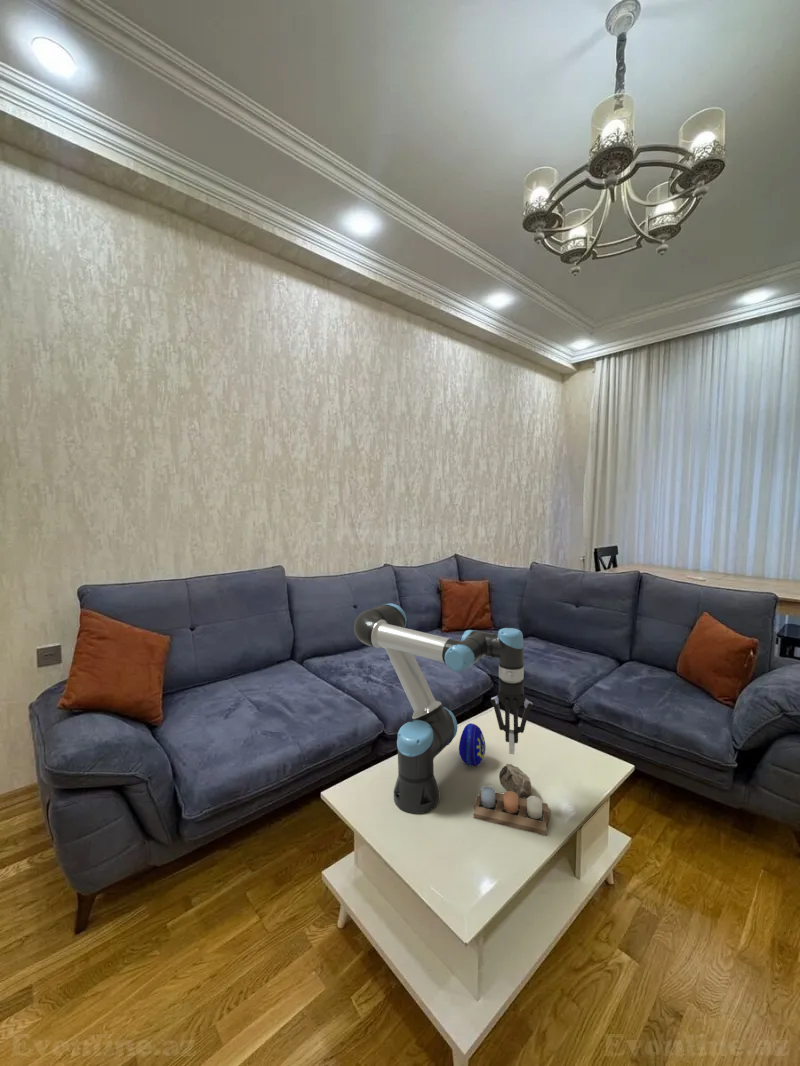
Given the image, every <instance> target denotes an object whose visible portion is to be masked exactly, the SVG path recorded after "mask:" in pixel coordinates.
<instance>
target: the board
mask: <svg viewBox="0 0 800 1066" xmlns="http://www.w3.org/2000/svg"><path fill="white" fill-rule="evenodd" d="M548 804H549V803H547V802H542V820H538V819H534V818H531V817H529V818H528V817H527V815H528V814H527V798H519V797H518V815H516V814H513V813H509V812H504V793H501V792H500V793H499V792H496V791H495V809H492V808H487V807H482V804H481V790H480V791H479V794H478V795H477V796H476V798H475V802H474V805H473V809H474V811H473V819H476V820H480V821H484V822H488V823H492V824H495V825H500V826H504V827H508V828H512V829H517V830H522V831H525V832H529V833H532V834H537V835H541V836H547V828H549V821H550V820H549V819H550V818H549V817H550V811H549V810H548V809H549V805H548Z"/></svg>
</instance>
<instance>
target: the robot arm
mask: <svg viewBox="0 0 800 1066" xmlns="http://www.w3.org/2000/svg"><path fill="white" fill-rule="evenodd" d="M407 622H408V619H407V615H406V613H405V611H404V609H403V608H402V607H401V606H400V605H397V604H395V603H383V604H381V605H379V606H375V607H372V608H370V609H367V610H364V611H362V612H361V613H359V615H358V616H357V617H356V619H355V620H354V624H353V632H354V635H355V636H356V638H357V639H358V640H359V642H361V643H362V644H364V645H367V646H370V647H372V648H377V649H380V648H383V649H385V651H386V654H387V655H388V656H387V657H388V658H389V661H390V662H391V665H392V667H393V668H394V671H395V673H396V675H397V677H398V680H399V682H400V684H401V686H402V688H403V690H404V693H405V694H406V697H407V699H408V701H409V704H410V707H411V708H412V709H413V713H412V716H411V717H412V718H411V719H412V721H407V722H406V723H404V724H402V726H401V727H400V728H399V730H398V732H397V739H396V747H397V748H396V749H397V771H398V772H397V774H398V775H397V778H396V781H395V785H394V789H393V801H394V802H393V803H394V804H395V805H396V806H397V808H399V809H400V810H402V811H404V812H407V813H409V814H410V813H411V814H424V813H427V812H430V811H431V810H433V809H435V808H436V807H437V806H438V805H439V802H440V797H441V796H440V794H441V793H440V787H439V785H438V783H437V779H436V777H435V771H434V769H435V768H434V759H436V757H437V756H438V755H439V754H440V753H441V752H442V751H443V750H444V749H445V748H446V747H448V746H449V745H450V744H451V743H452V742H453V741H454V738H455V737H456V735H457V733H458V722H457V719H456V716H455V715H454V713H453V712H452V711H451V710H449V709H448V708H447V707H444V706H443V704H442V702H441V701H439V700H436V699H435V696H434V694H433V693H432V690H431V689H430V686H429V684H428V682H427V680H426V678H425V676H424V673H423V672H422V670H421V667H420V665H419V662H418V661H417V659H416V657H415V656H418V657H421V658H425V659H428V660H432V661H435V662H436V661H437V662H440V663H444V664H446V666H447V668H449V669H450V670H451V671H452V672H455V673H462V672H464V671H467V670H468V669H470V668H472V666H473V665H475V663H477V662H478V661H480V660H481V659H483V658H484V657H487V658H492V659H498V677H499V679H498V692H497V695H496V696H492V697H491V698H490V703H491V704H492V706H493V709H494V713H495V717H496V721H497V724H498V728H499V730H500V731H504V732H505V734H504V735H505V737H504V738H505V742H506V743H508V752H509V755H515V751H516V749H515V746H516V745H515V744H518V743H519V734H520V733H521V734H523V733H524V731H525V728H526V724H527V720H528V716H529V712H530V711H531V710H532V708H533V703H534V702H533V701H532V700H528V699H527V698H526V695H525V692H524V691H525V687H524V685H525V683H524V682H525V681H524V673H525V671H524V668H525V667H524V646H525V645H524V635H523V632H522V631H521V630H520V629H518V628H515V627H514V628H513V627H504V628H501V629H498V633H492V632H486V631H480V630H477V629H476V630H475V629H474V630H472V629H468V630H465V631H464V632H463V634H462V635H461V640H458V639H452V638H448V637H445V636H441V635H436V634H433V633H432V634H431V633H429V632H423V631H419V630H415V629H410V628H406V627H407ZM499 703H501V704H502V706H503V707H504V720H503V715H502V712H501V708H500V704H499ZM523 704H524V706H523V707H524V711H523V714H522V718H521V722H520V726H519V709H520V708H521V706H522V705H523ZM510 710H513V711H512V712H513V729H510V728H511V724H510V723H511V722H510V721H511V720H510V719H511V718H510V712H511V711H510ZM504 722H505V723H504Z"/></svg>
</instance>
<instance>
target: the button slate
mask: <svg viewBox="0 0 800 1066" xmlns="http://www.w3.org/2000/svg"><path fill="white" fill-rule="evenodd" d="M480 791H481V806H483V808H487V809H492V808H494V807H496V804H495V792H496V789H495V788H493V787H491V786H482V787H481V789H480Z"/></svg>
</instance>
